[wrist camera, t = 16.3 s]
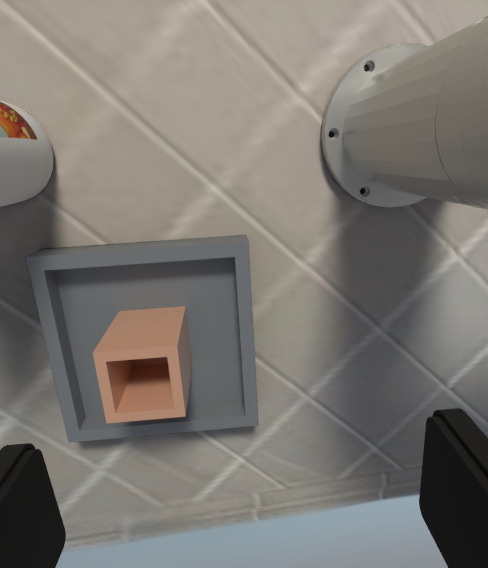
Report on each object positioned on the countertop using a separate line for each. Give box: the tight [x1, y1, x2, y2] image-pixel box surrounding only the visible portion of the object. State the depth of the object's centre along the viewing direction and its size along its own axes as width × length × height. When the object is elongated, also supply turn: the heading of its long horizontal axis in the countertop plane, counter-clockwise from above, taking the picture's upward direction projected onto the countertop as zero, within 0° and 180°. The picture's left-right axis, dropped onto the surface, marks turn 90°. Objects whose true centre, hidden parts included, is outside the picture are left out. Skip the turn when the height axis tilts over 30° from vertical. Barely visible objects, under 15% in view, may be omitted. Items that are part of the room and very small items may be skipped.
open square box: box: [93, 306, 192, 423], centre depth 33 cm, size 6×6×8 cm
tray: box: [25, 235, 259, 442], centre depth 37 cm, size 18×18×3 cm
